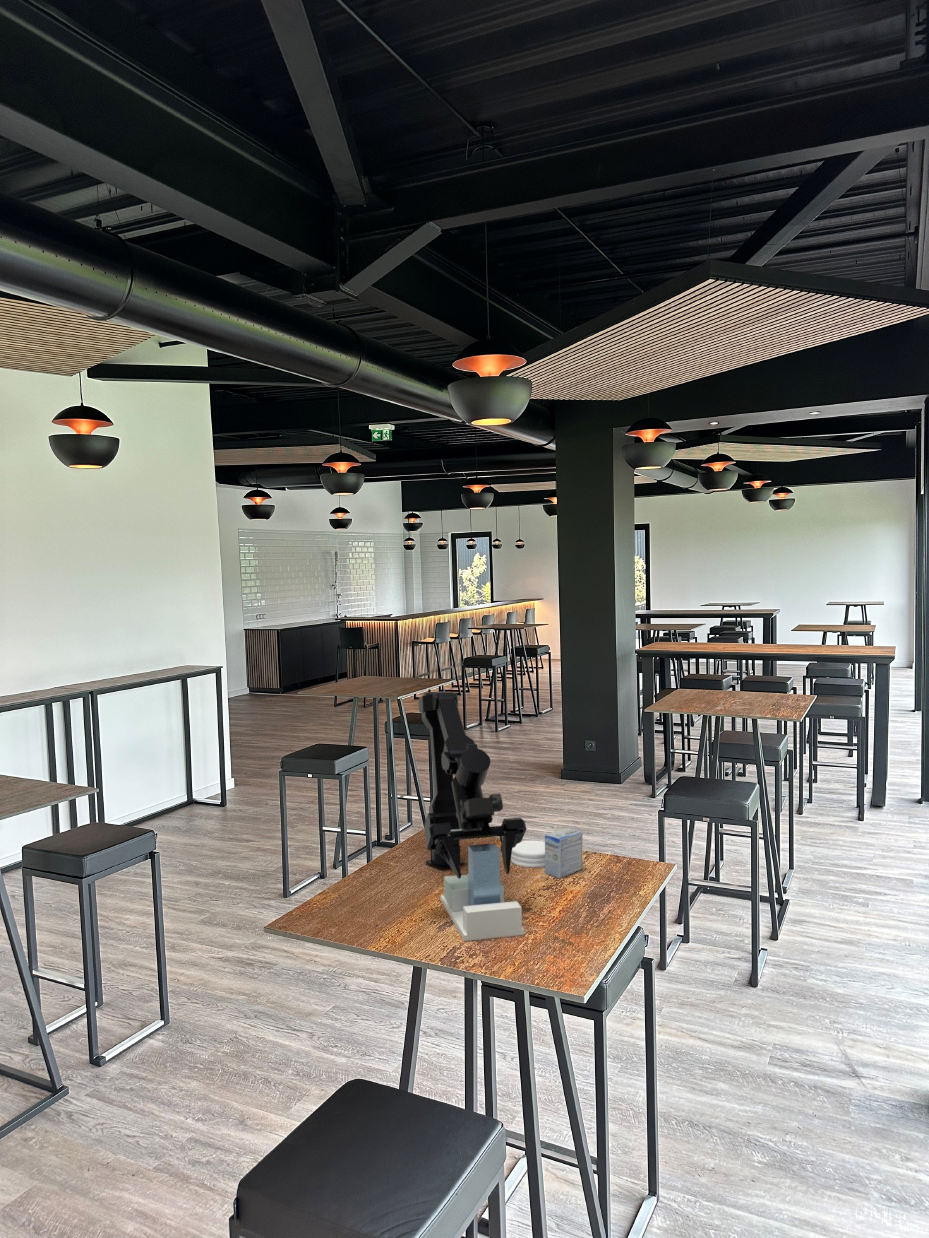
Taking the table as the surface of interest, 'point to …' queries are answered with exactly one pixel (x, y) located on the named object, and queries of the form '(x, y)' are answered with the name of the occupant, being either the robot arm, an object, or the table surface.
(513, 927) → the vise bed
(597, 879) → the table surface
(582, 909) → the table surface
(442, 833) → the robot arm
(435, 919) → the table surface
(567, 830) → the medicine box
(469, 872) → the slate-blue block
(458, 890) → the block
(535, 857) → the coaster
